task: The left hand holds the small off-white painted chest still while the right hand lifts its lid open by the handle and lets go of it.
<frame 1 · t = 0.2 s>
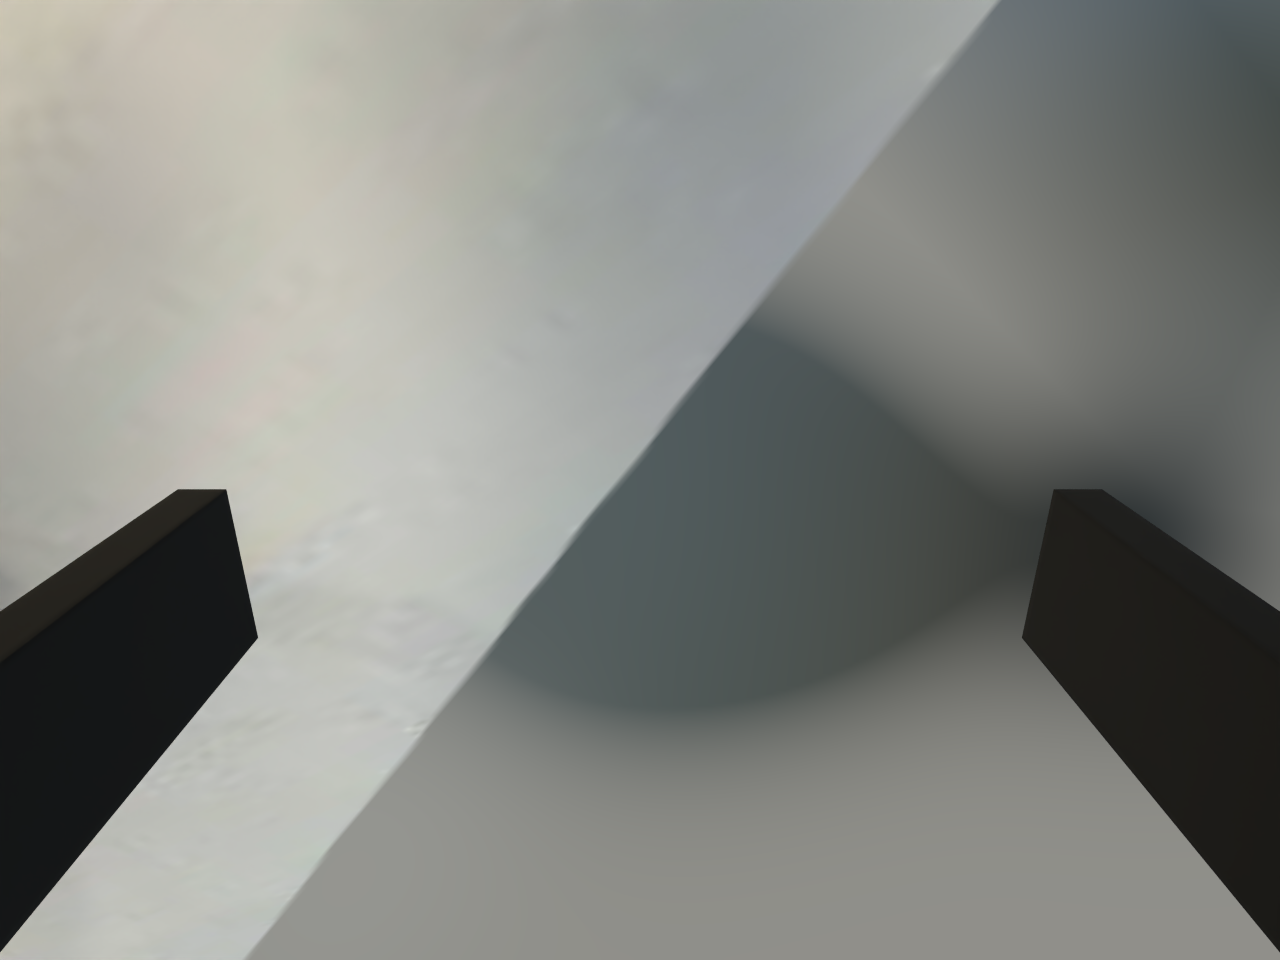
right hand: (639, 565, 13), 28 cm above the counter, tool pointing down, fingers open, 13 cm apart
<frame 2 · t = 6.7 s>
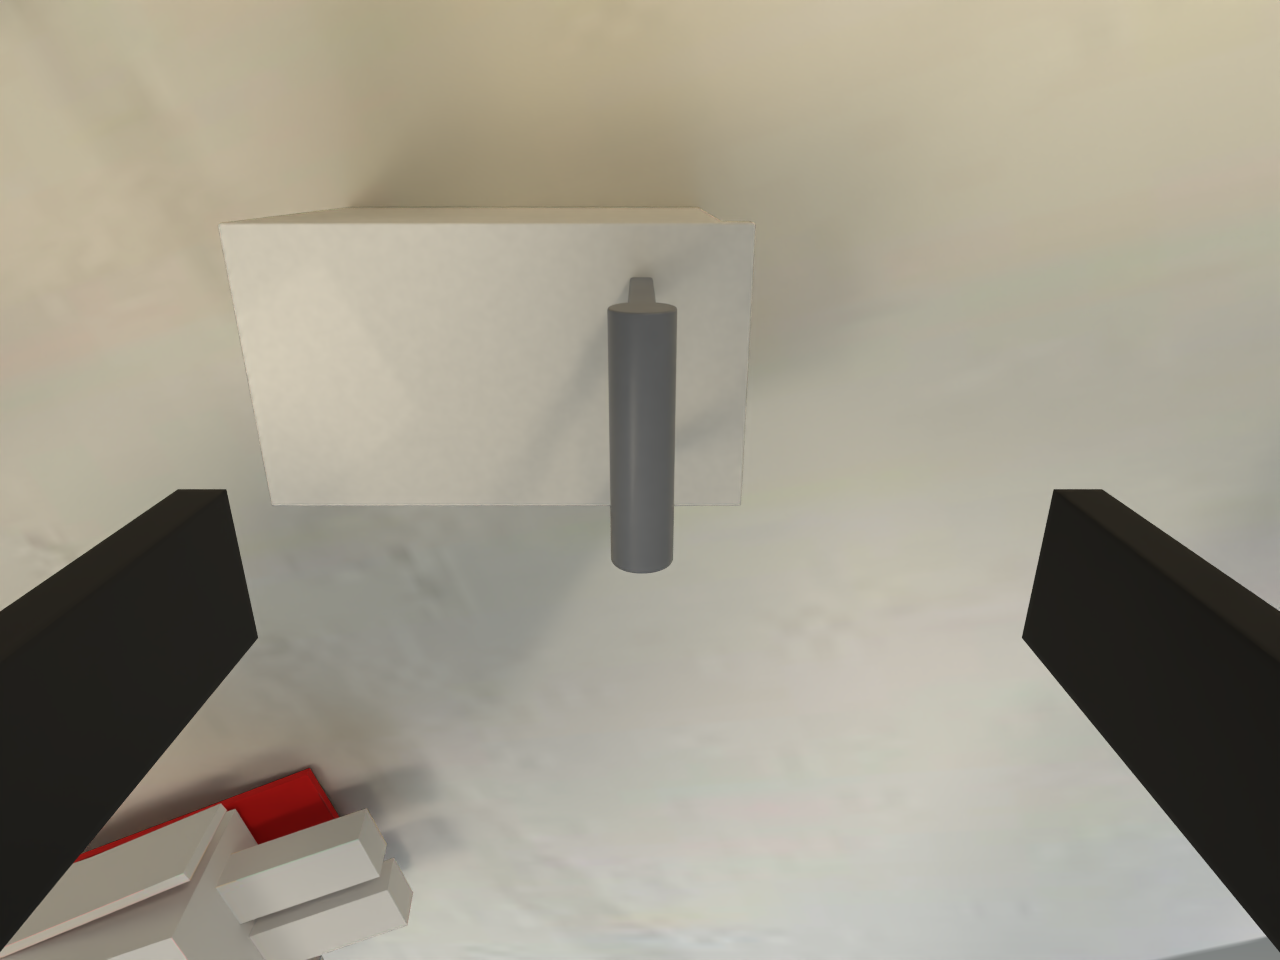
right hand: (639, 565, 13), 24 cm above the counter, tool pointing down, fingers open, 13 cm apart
lid: (477, 402, 21), point 14 cm above the counter, hinge at 0.0°
toy: (175, 860, 46), on the counter
chest: (528, 315, 34), on the counter
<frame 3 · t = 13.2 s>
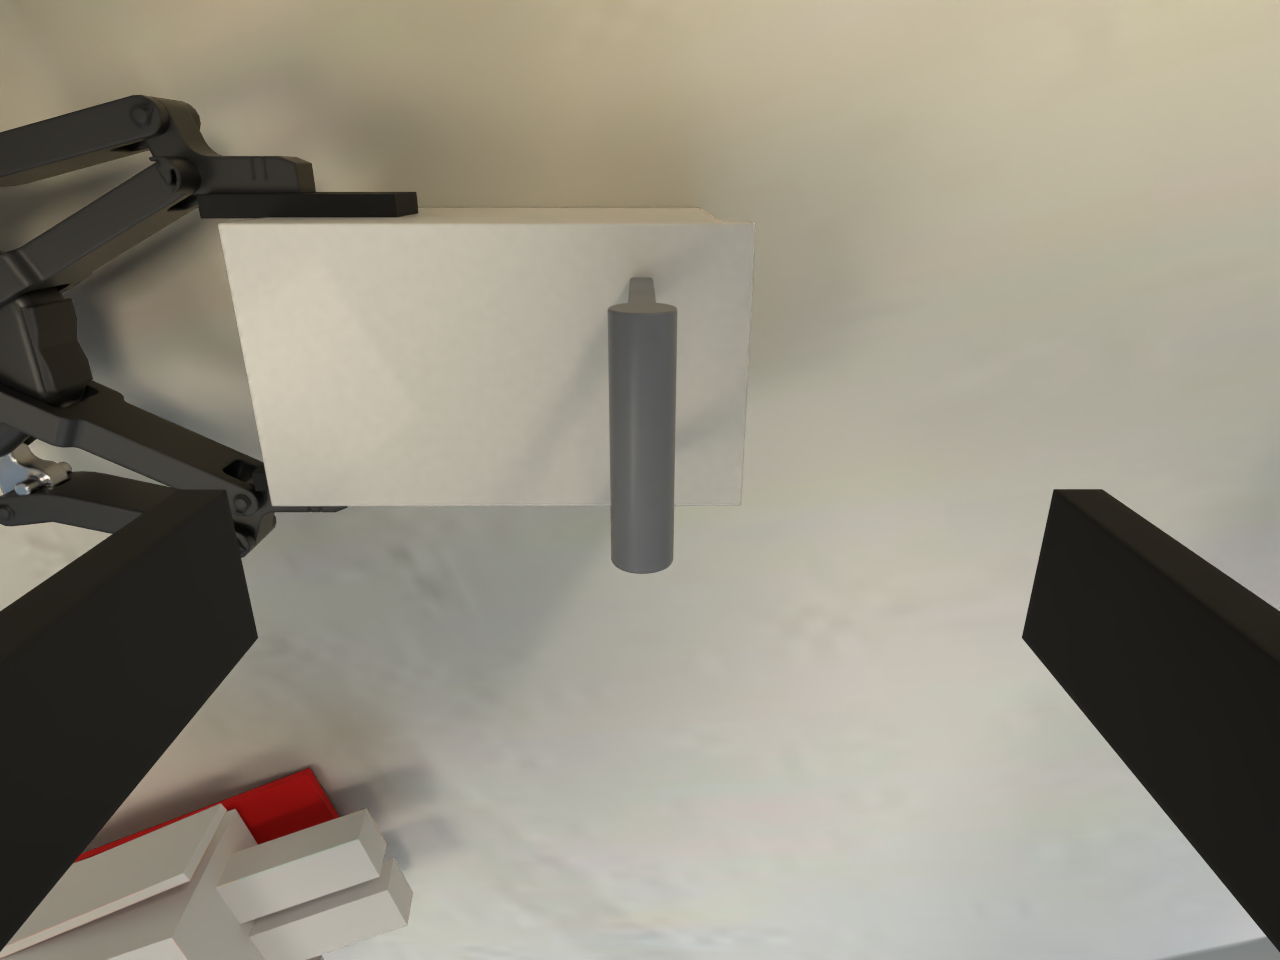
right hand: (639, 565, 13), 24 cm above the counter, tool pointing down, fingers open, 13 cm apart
left hand: (421, 345, 29), fingers closed on chest, 9 cm apart
lid: (477, 403, 21), point 14 cm above the counter, hinge at 0.0°
toy: (175, 860, 46), on the counter
chest: (528, 315, 34), on the counter, touching left hand
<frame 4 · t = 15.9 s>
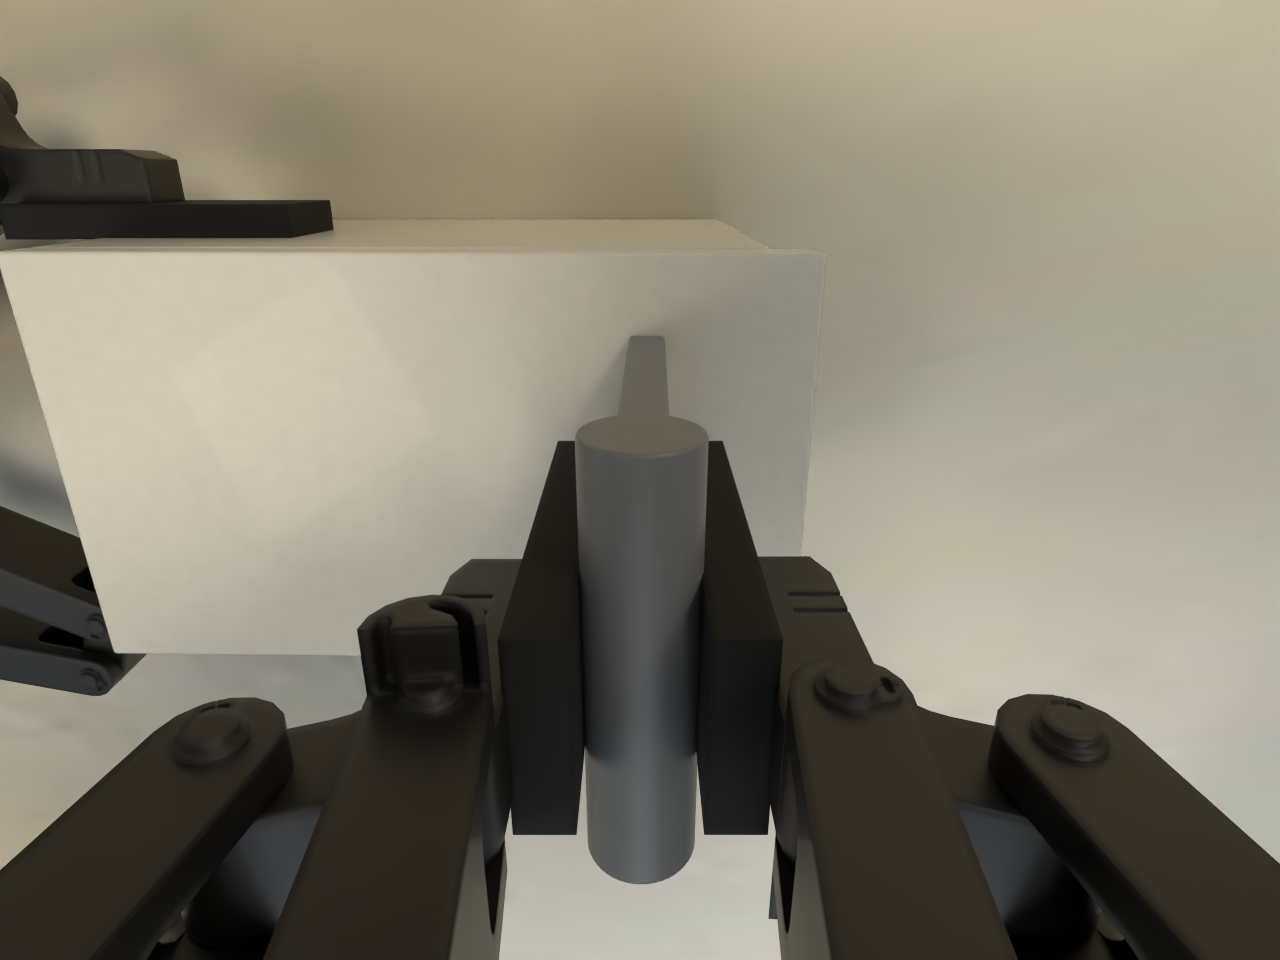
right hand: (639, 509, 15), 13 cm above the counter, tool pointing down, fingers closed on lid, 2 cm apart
lid: (379, 544, 13), point 14 cm above the counter, hinge at 1.7°, touching right hand
chest: (495, 358, 27), on the counter, touching left hand
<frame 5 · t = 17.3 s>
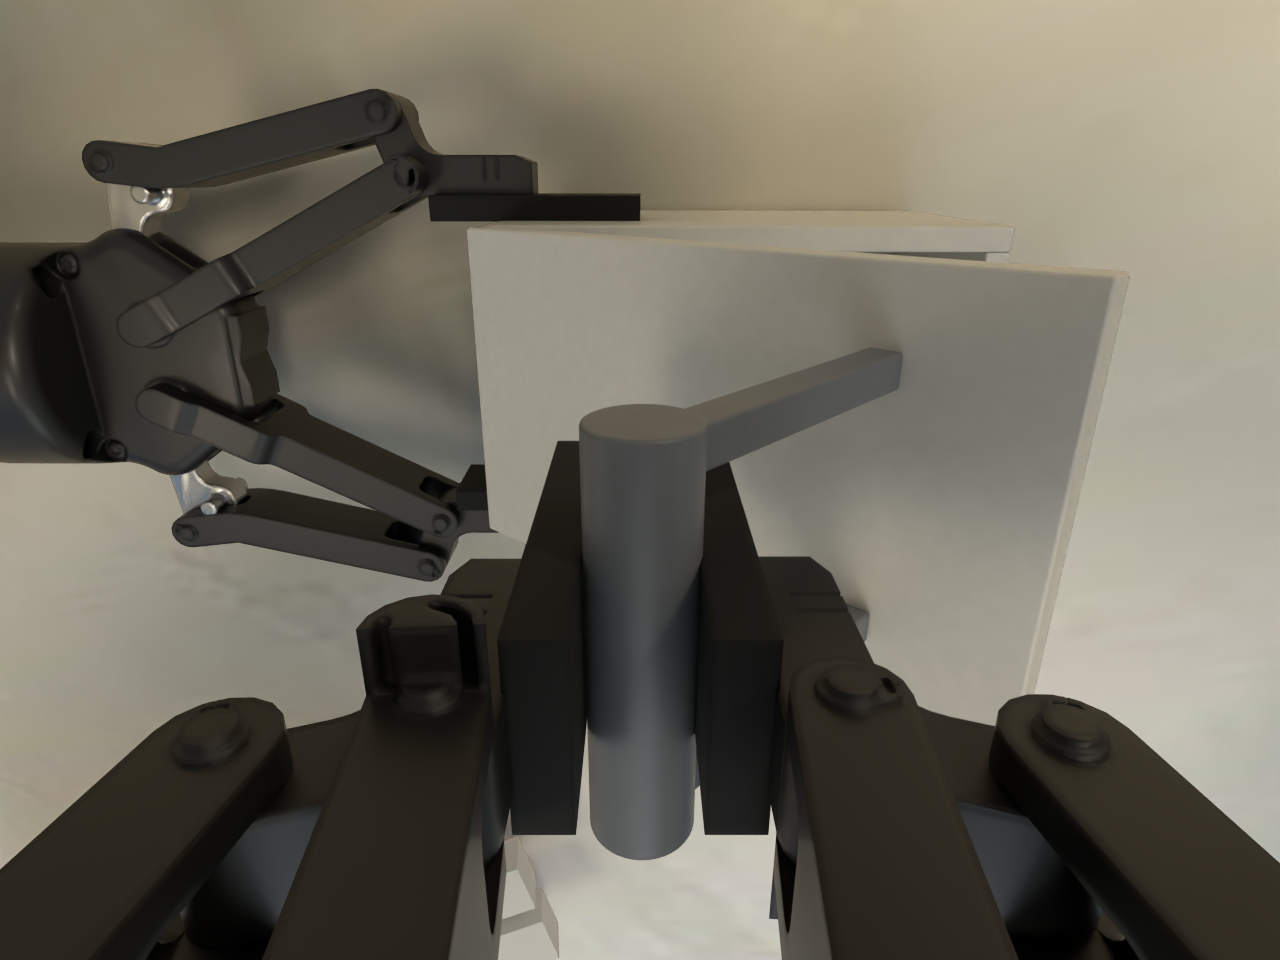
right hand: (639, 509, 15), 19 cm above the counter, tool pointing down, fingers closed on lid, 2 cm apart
left hand: (639, 356, 27), fingers closed on chest, 9 cm apart
lid: (585, 488, 16), point 18 cm above the counter, hinge at 41.3°, touching right hand
toy: (301, 886, 45), on the counter
chest: (716, 324, 33), on the counter, touching left hand
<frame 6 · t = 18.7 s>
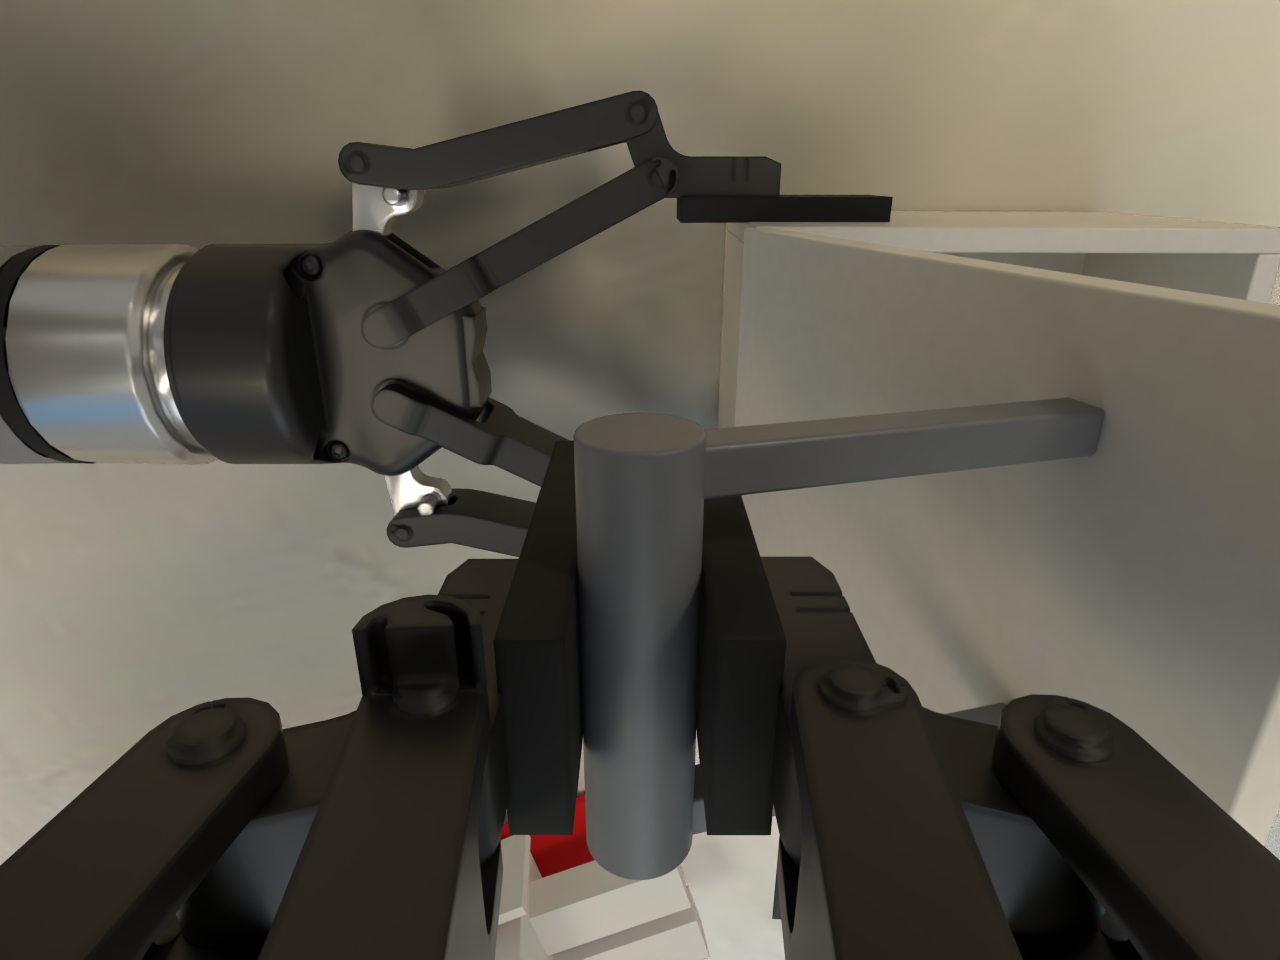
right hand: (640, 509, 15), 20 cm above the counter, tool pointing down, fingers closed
left hand: (862, 356, 27), fingers closed on chest, 9 cm apart
lid: (737, 500, 15), point 19 cm above the counter, hinge at 73.0°
toy: (434, 885, 45), on the counter
chest: (899, 324, 33), on the counter, touching left hand
when the left hand's fingers open (6 cm above the counter, at t = 22.7 s): chest stays where it is, on the counter.
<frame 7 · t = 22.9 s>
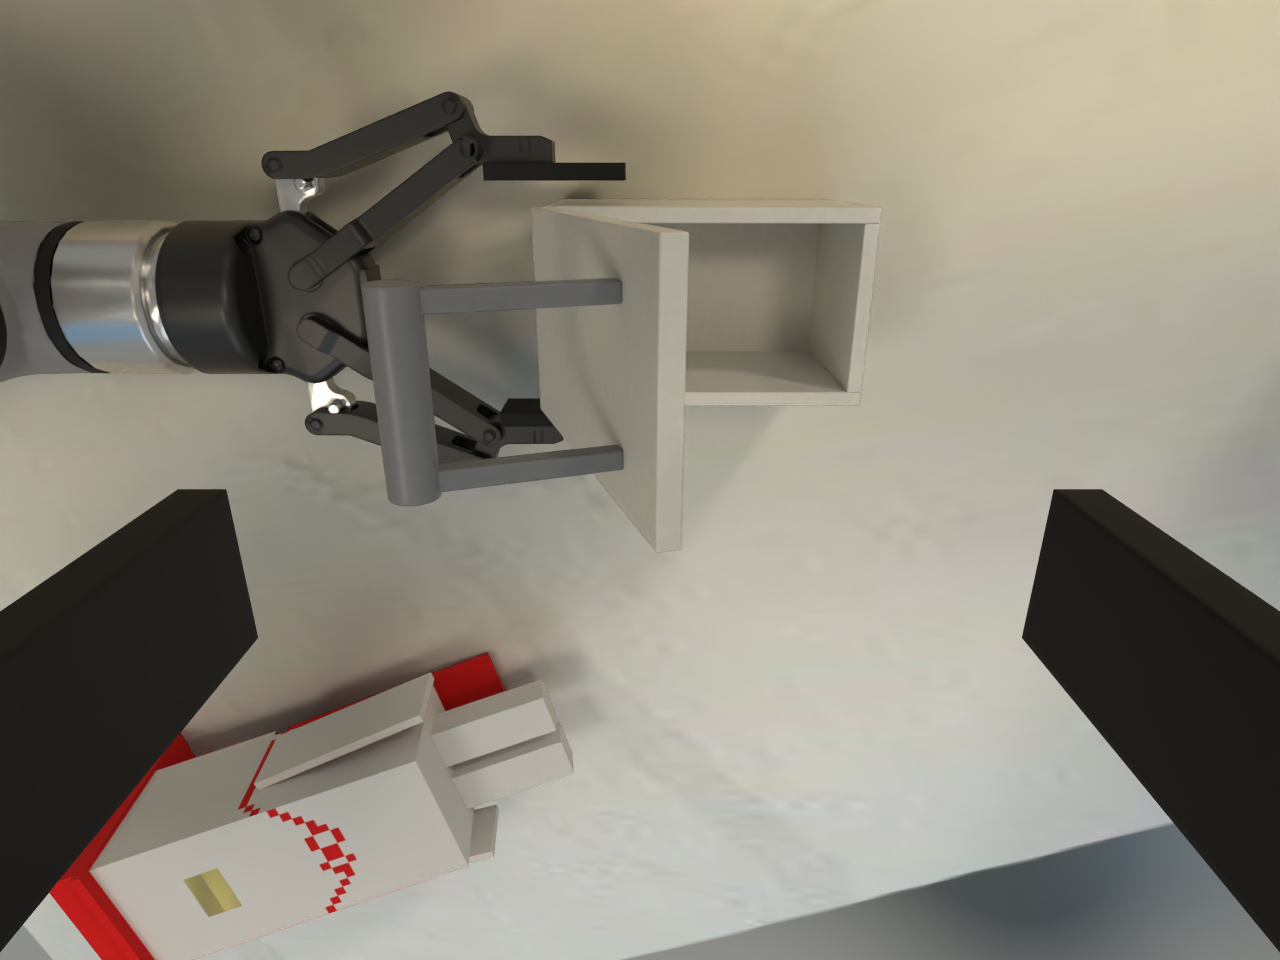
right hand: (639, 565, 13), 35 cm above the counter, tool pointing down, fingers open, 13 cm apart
left hand: (626, 298, 39), fingers open, 11 cm apart
lid: (492, 354, 27), point 19 cm above the counter, hinge at 70.8°
toy: (369, 734, 57), on the counter
chest: (694, 282, 45), on the counter
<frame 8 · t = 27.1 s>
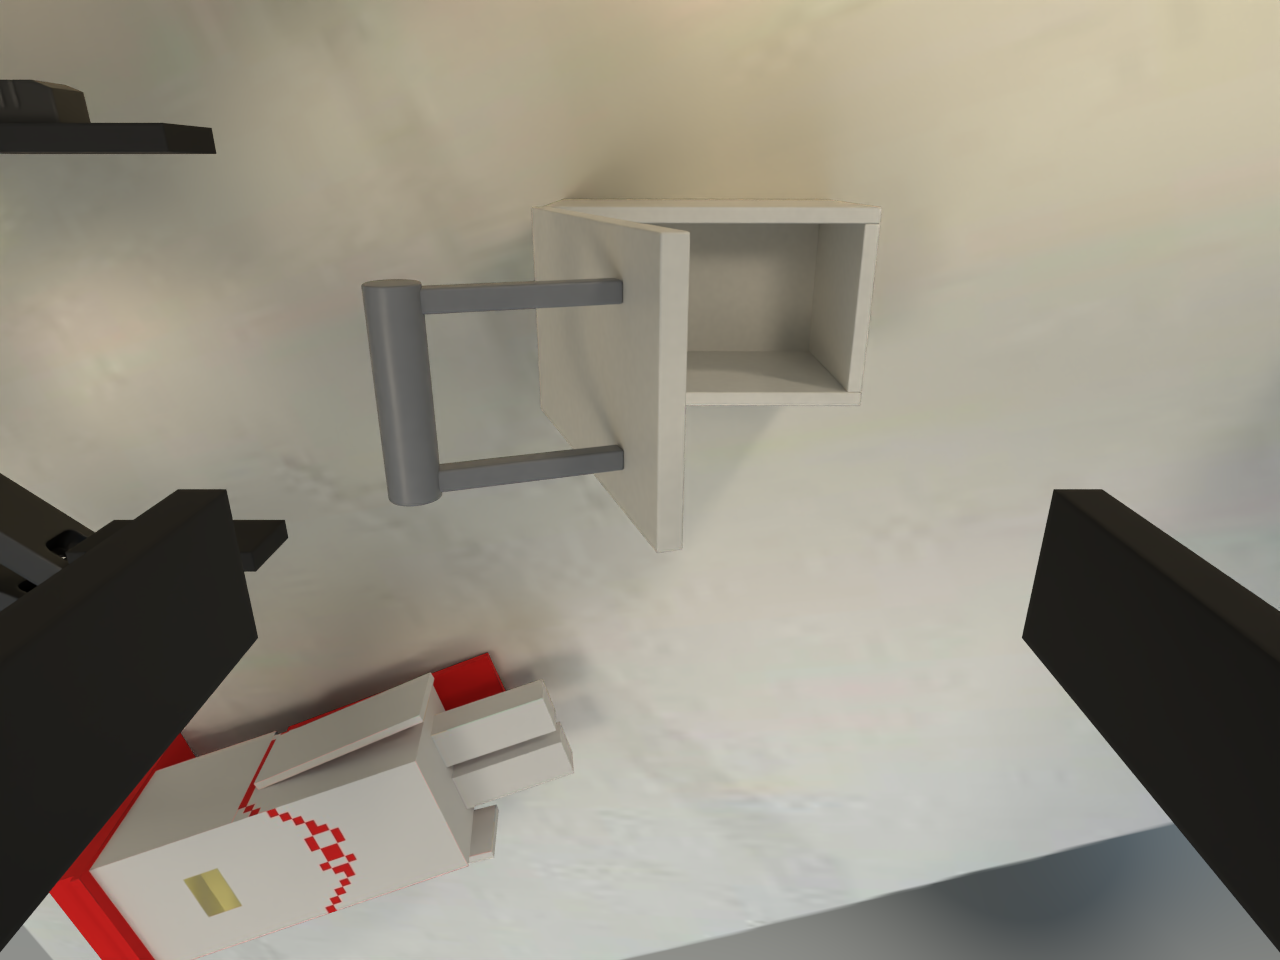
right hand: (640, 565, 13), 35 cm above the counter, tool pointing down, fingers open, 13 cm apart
lid: (493, 354, 27), point 19 cm above the counter, hinge at 70.8°
toy: (369, 734, 57), on the counter
chest: (694, 282, 45), on the counter
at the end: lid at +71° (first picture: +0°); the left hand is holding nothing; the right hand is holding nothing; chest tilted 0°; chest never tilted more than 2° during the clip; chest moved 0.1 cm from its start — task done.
